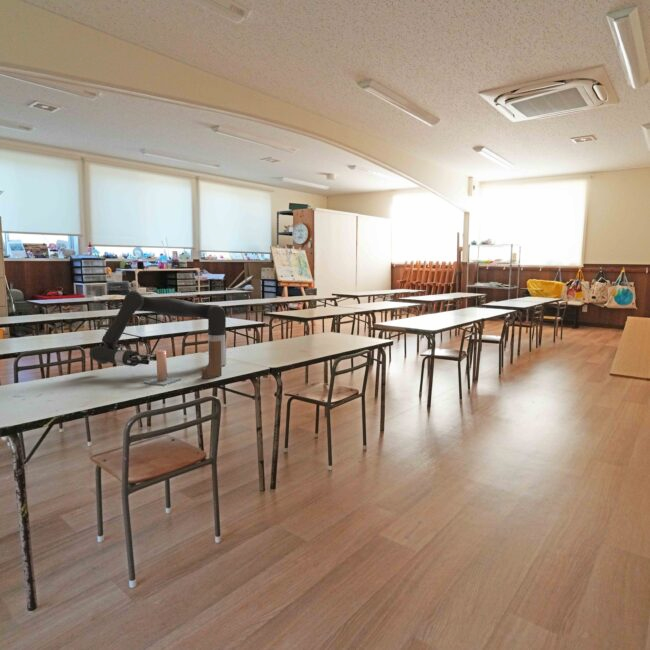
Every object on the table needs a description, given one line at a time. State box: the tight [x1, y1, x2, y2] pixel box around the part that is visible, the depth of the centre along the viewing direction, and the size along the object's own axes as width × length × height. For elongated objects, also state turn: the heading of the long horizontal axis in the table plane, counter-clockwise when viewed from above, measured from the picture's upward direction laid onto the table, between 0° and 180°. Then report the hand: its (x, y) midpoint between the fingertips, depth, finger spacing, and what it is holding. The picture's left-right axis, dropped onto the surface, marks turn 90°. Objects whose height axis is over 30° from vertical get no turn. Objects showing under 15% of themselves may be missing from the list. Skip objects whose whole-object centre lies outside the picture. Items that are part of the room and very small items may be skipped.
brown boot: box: [201, 340, 223, 380], centre depth 230 cm, size 9×4×18 cm, turn 140°
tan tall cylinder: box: [155, 349, 168, 381], centre depth 220 cm, size 4×4×14 cm
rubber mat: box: [143, 376, 182, 386], centre depth 221 cm, size 12×12×1 cm
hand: (154, 360), depth 221 cm, fingers open, 8 cm apart
